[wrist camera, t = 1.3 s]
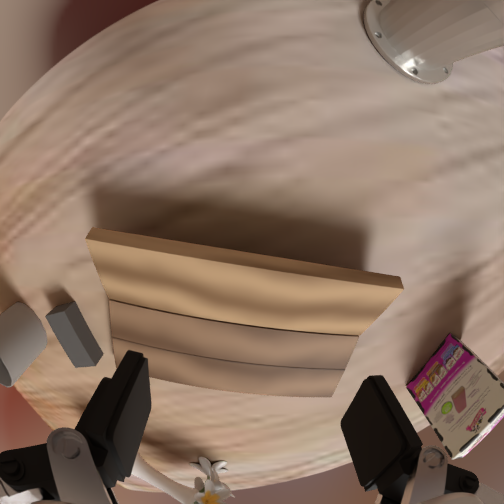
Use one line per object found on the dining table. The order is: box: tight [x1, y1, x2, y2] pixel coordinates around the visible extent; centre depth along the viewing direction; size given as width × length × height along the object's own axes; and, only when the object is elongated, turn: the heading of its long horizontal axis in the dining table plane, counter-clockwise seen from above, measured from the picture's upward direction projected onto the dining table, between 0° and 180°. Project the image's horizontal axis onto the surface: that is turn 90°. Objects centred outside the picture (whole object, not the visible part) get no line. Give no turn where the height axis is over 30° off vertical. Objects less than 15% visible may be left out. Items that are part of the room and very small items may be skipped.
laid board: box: [109, 299, 359, 397], centre depth 29 cm, size 10×28×2 cm, turn 80°
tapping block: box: [45, 301, 104, 368], centre depth 28 cm, size 8×4×3 cm, turn 16°
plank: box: [85, 227, 404, 335], centre depth 24 cm, size 9×28×1 cm, turn 80°
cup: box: [0, 302, 47, 387], centre depth 24 cm, size 8×8×10 cm
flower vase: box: [131, 452, 235, 504], centre depth 31 cm, size 13×18×25 cm
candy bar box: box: [406, 333, 504, 459], centre depth 25 cm, size 11×5×16 cm, turn 150°
